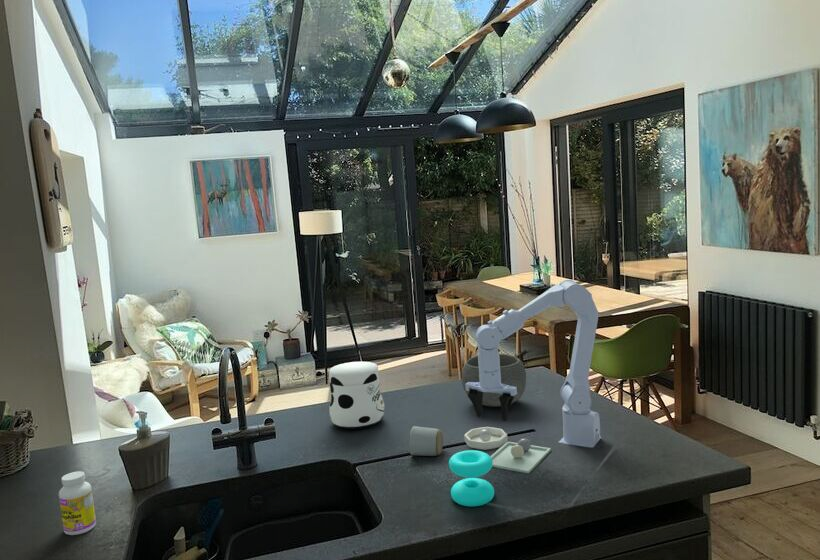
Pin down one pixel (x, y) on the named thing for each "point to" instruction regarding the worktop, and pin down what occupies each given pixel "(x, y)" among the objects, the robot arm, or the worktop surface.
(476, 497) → the donuts
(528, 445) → the pebble slate
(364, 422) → the milk container
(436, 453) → the ceramic mug
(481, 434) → the pebble grey
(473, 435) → the stoneware bowl
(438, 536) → the worktop surface
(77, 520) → the supplement bottle
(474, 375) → the bowl
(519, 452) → the beige round ball
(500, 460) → the parts tray
